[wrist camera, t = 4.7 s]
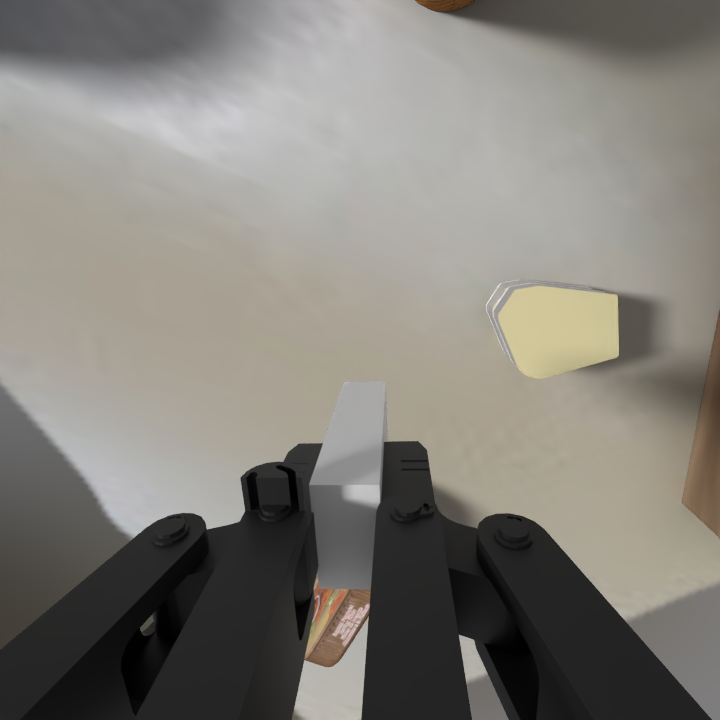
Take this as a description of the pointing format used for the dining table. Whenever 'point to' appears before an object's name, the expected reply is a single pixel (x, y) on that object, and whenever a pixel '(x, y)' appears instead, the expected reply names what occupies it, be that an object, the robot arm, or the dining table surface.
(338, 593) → the tin
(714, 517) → the bar
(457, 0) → the disposable coffee cup
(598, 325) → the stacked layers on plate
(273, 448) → the dining table surface
